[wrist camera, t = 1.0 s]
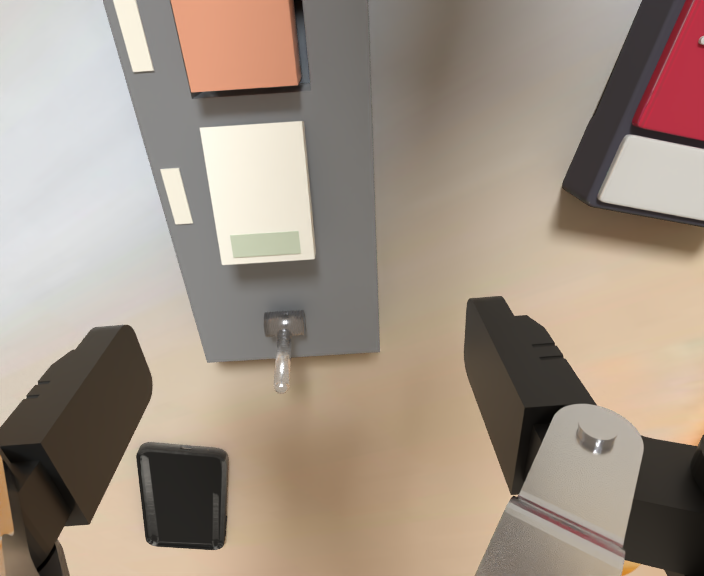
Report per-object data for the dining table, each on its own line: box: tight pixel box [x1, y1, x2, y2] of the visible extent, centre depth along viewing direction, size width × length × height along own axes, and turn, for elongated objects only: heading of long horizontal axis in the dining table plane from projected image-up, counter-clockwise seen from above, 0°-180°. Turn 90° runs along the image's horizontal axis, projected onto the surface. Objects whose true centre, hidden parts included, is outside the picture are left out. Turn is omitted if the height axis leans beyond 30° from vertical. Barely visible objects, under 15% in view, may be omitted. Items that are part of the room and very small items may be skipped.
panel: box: [103, 0, 380, 363], centre depth 27 cm, size 25×12×4 cm, turn 3°
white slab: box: [200, 121, 316, 265], centre depth 24 cm, size 7×5×1 cm
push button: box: [171, 0, 302, 92], centre depth 22 cm, size 5×5×3 cm
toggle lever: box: [264, 310, 306, 394], centre depth 28 cm, size 2×2×6 cm
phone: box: [136, 442, 228, 550], centre depth 44 cm, size 8×1×15 cm
